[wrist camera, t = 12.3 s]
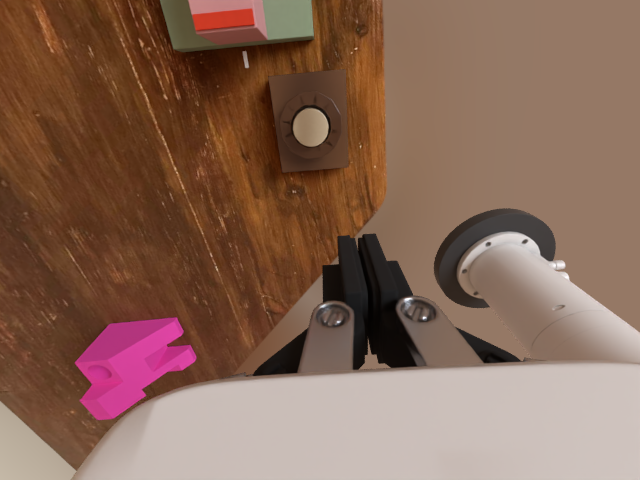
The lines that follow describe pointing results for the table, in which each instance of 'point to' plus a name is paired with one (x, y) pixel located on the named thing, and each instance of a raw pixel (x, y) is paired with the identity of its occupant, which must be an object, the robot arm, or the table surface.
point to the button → (310, 127)
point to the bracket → (130, 363)
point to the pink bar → (229, 20)
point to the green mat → (282, 26)
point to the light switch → (320, 94)
